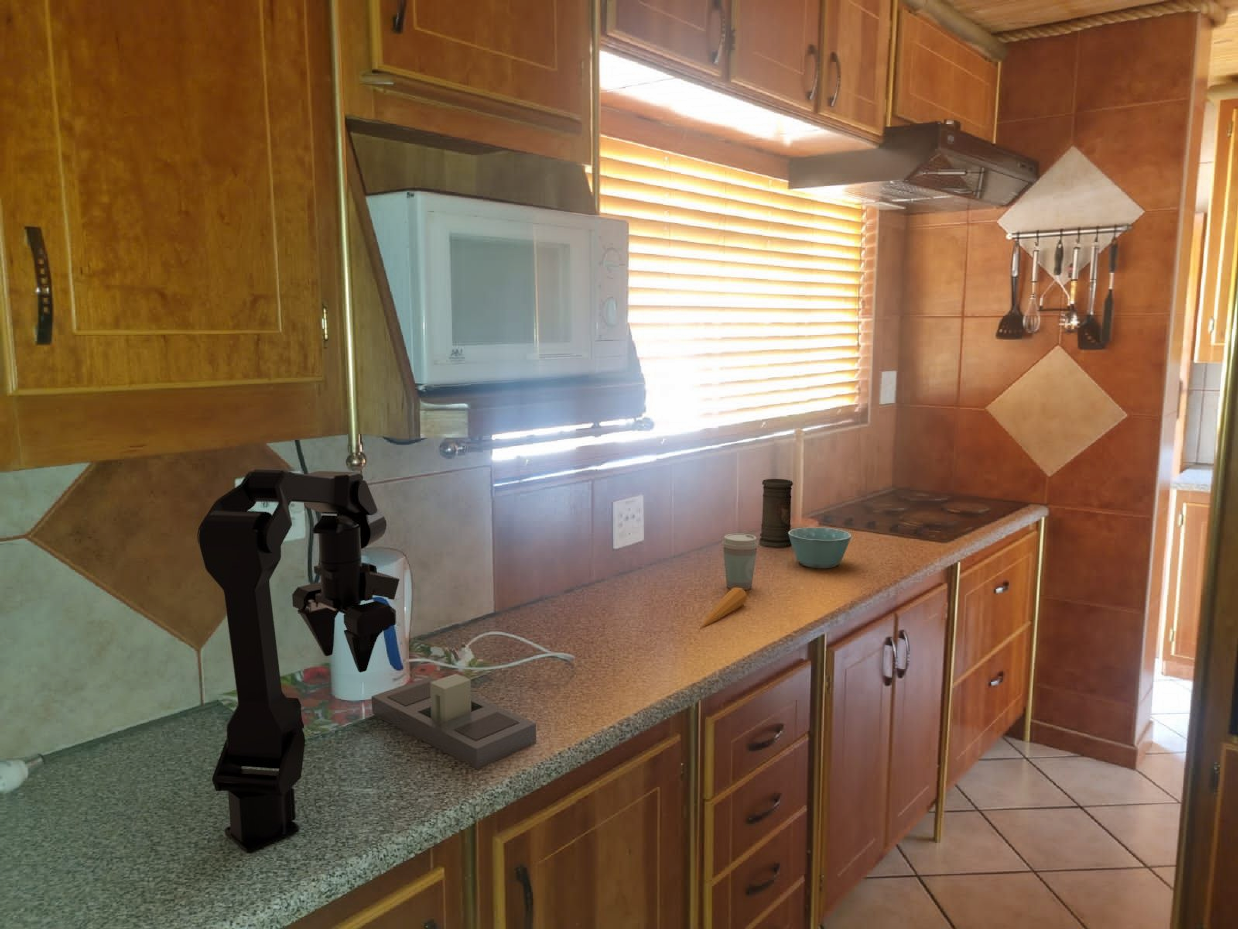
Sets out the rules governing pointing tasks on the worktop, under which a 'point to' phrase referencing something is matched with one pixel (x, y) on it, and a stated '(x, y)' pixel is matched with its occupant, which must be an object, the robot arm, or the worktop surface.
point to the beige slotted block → (450, 698)
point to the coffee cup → (739, 559)
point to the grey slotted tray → (455, 725)
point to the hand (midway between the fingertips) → (345, 663)
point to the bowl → (819, 546)
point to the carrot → (727, 605)
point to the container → (776, 513)
